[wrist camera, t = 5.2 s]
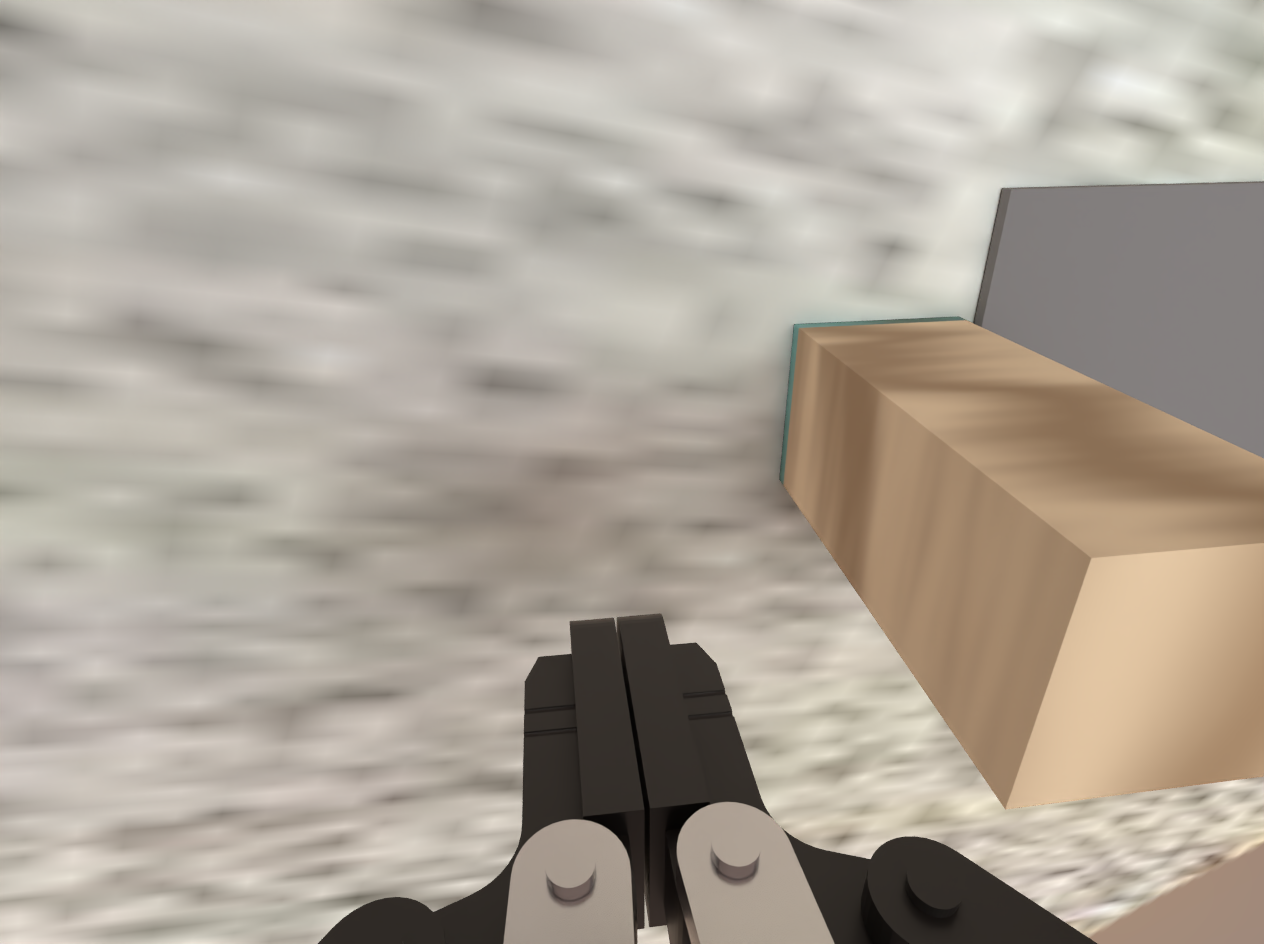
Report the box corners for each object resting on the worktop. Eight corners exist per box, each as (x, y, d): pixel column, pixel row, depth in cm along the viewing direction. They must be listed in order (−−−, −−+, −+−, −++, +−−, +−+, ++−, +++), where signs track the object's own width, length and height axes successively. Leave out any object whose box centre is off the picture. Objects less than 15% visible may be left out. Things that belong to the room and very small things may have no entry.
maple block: (779, 479, 22) (1005, 809, 12) (793, 324, 20) (1091, 558, 9) (928, 468, 23) (1273, 774, 12) (958, 317, 21) (1416, 529, 10)
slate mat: (924, 558, 24) (930, 564, 24) (1002, 187, 19) (1011, 189, 19) (1282, 527, 26) (1292, 533, 26) (1449, 176, 20) (1465, 177, 20)
